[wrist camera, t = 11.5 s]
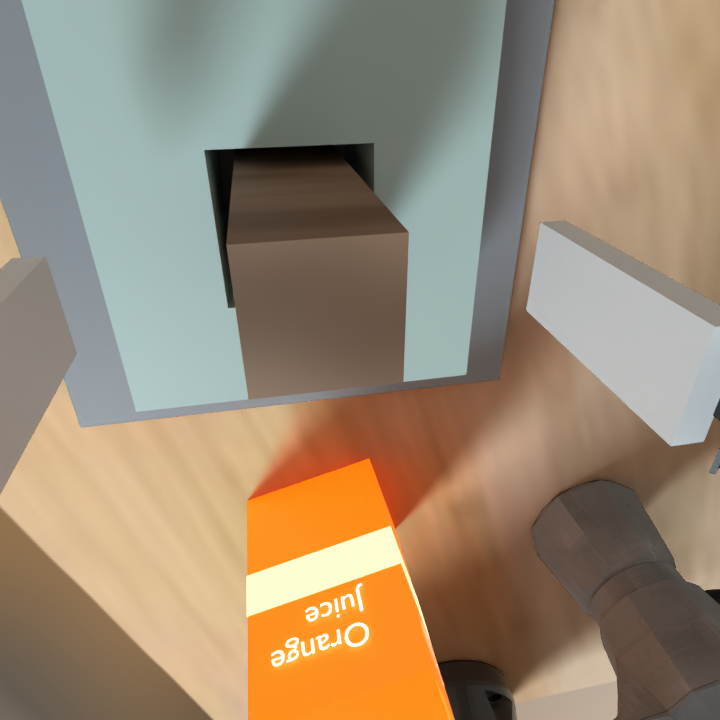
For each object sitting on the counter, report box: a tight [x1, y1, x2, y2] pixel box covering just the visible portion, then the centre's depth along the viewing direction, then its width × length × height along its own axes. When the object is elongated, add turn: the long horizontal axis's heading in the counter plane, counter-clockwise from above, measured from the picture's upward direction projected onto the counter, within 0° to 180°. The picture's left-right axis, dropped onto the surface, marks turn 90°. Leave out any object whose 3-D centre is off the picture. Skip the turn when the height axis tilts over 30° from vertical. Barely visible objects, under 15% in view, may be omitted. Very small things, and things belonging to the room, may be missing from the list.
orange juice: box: [247, 459, 455, 720], centre depth 29 cm, size 8×9×20 cm
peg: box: [226, 145, 409, 400], centre depth 19 cm, size 4×4×14 cm
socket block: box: [0, 0, 555, 428], centre depth 22 cm, size 24×24×8 cm
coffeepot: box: [532, 480, 720, 720], centre depth 36 cm, size 15×9×18 cm, turn 85°
